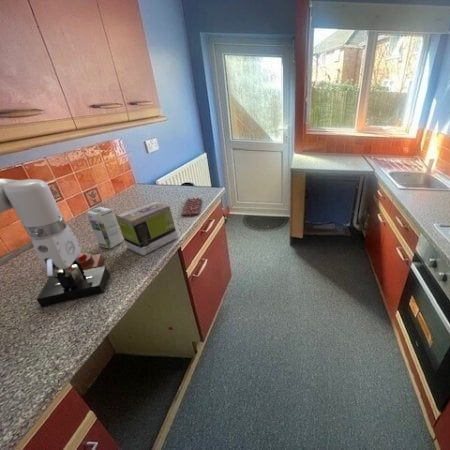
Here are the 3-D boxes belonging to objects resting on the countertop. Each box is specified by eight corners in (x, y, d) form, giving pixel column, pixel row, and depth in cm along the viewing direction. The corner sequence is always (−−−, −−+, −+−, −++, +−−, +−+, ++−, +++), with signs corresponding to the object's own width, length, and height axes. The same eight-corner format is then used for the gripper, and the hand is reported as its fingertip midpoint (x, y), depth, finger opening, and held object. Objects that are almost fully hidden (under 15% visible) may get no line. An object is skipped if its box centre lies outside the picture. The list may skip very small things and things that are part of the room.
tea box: (162, 232, 106) (154, 200, 99) (178, 238, 102) (170, 205, 95) (126, 248, 95) (114, 213, 88) (142, 256, 91) (131, 220, 84)
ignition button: (70, 264, 80) (68, 259, 79) (73, 257, 83) (71, 253, 82) (84, 261, 81) (82, 257, 80) (87, 255, 84) (85, 251, 83)
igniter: (60, 279, 79) (54, 269, 77) (68, 265, 85) (63, 255, 83) (98, 271, 83) (94, 262, 81) (103, 258, 89) (99, 249, 87)
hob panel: (41, 307, 69) (36, 298, 67) (54, 284, 77) (49, 276, 75) (102, 292, 74) (99, 284, 73) (108, 273, 82) (105, 265, 81)
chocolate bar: (182, 216, 120) (181, 212, 119) (187, 201, 136) (186, 198, 135) (198, 215, 121) (197, 211, 121) (201, 200, 138) (200, 197, 137)
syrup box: (98, 246, 95) (84, 212, 88) (112, 238, 100) (100, 206, 93) (109, 249, 94) (96, 214, 87) (123, 241, 99) (112, 208, 92)
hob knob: (79, 284, 73) (72, 271, 70) (61, 287, 72) (54, 274, 69) (86, 275, 76) (80, 262, 74) (69, 277, 75) (62, 264, 73)
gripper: (46, 241, 59) (76, 298, 68) (78, 212, 73) (99, 262, 82) (6, 246, 57) (42, 303, 66) (47, 214, 71) (72, 265, 80)
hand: (73, 280), depth 74 cm, fingers closed on hob knob, 4 cm apart
